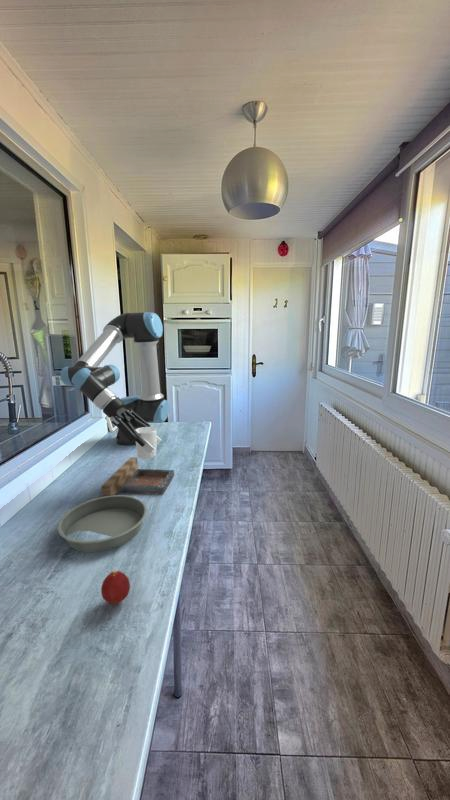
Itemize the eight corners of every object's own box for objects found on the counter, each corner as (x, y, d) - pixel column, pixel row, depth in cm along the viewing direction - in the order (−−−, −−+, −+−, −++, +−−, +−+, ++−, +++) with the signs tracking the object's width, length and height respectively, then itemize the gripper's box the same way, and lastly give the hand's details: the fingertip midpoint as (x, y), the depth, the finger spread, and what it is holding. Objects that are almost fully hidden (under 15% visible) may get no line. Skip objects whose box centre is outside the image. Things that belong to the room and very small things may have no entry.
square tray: (137, 474, 135) (137, 469, 135) (174, 475, 133) (174, 470, 133) (123, 492, 120) (122, 486, 120) (163, 494, 119) (163, 487, 118)
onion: (107, 593, 75) (103, 561, 73) (133, 590, 75) (130, 559, 74) (99, 614, 69) (95, 581, 68) (128, 612, 70) (124, 579, 68)
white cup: (160, 452, 128) (159, 426, 126) (154, 460, 120) (152, 433, 118) (140, 451, 129) (138, 426, 127) (132, 459, 121) (130, 433, 119)
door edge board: (131, 468, 141) (130, 457, 140) (138, 468, 141) (137, 457, 140) (102, 499, 116) (101, 486, 115) (111, 500, 115) (109, 486, 114)
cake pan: (63, 516, 106) (61, 503, 105) (142, 501, 115) (141, 489, 114) (54, 567, 84) (52, 551, 83) (153, 543, 92) (152, 529, 91)
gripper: (115, 404, 132) (157, 443, 134) (89, 418, 112) (139, 464, 114) (127, 390, 131) (169, 431, 132) (102, 402, 111) (153, 450, 112)
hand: (155, 446), depth 123 cm, fingers closed on white cup, 8 cm apart
